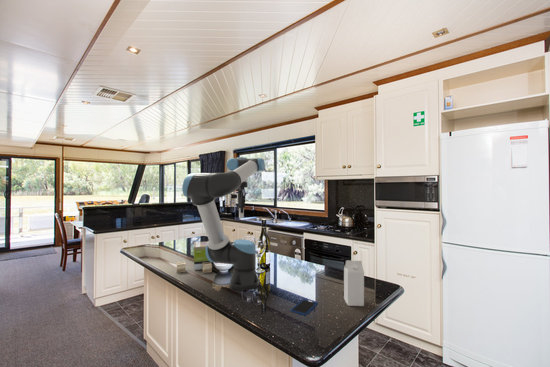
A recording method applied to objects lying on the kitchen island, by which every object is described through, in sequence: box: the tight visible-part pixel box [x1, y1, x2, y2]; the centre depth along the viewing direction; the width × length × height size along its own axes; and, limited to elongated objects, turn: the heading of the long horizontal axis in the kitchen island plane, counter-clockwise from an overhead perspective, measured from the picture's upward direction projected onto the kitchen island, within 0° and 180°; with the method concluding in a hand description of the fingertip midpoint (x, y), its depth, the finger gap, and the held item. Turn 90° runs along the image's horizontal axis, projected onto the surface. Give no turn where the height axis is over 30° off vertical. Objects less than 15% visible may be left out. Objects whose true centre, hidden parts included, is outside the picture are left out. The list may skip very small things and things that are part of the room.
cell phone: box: [290, 298, 319, 316], centre depth 112 cm, size 7×14×1 cm, turn 148°
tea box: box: [193, 240, 211, 271], centre depth 169 cm, size 15×10×15 cm
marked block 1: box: [176, 261, 186, 274], centre depth 159 cm, size 5×5×5 cm
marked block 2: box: [201, 261, 213, 274], centre depth 159 cm, size 5×5×5 cm
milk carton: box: [343, 260, 365, 307], centre depth 117 cm, size 7×7×19 cm
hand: (241, 217), depth 165 cm, fingers closed
